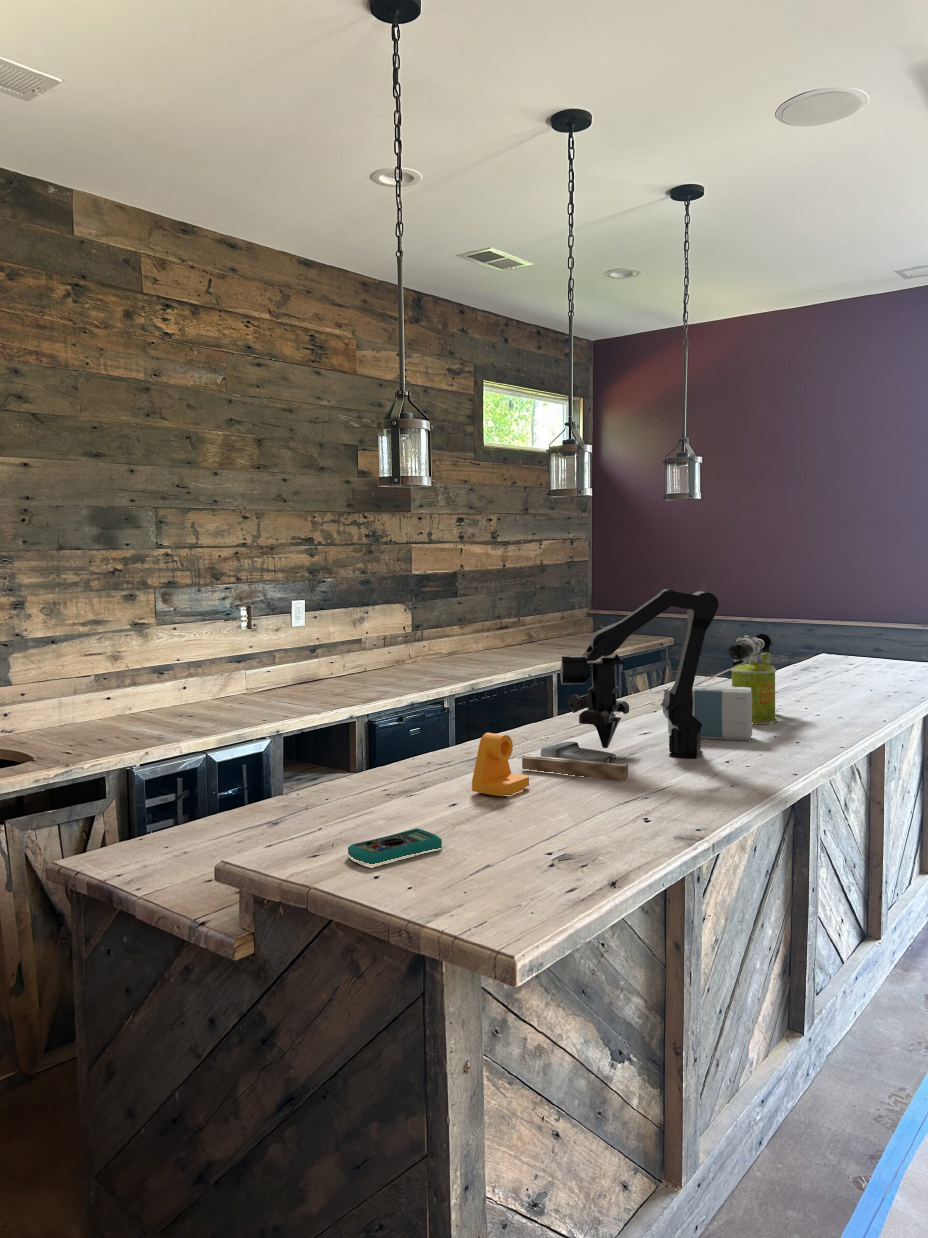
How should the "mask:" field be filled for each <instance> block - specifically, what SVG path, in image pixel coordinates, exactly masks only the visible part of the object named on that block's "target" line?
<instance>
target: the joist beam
mask: <svg viewBox="0 0 928 1238" xmlns="http://www.w3.org/2000/svg"><path fill="white" fill-rule="evenodd" d="M521 763H522V764H521V769H522V768H523V769H529V770H537V771H544V772H554V773H561V774H568V775H575V776H574V777H577V776H584V777H583V778H587V777H591V778H590V779H596V778H599V780H606V779H607V781H608V780H609V781H614V782H616V781H617V782H625V781H627V780H628V779H629V764H626V763H621V764H617V763H606V762H596V761H585V760H575V759H564V758H554V757H543V756H541V755H530V754H525V755H524V756H522V758H521Z"/></svg>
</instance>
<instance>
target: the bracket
mask: <svg viewBox="0 0 928 1238" xmlns="http://www.w3.org/2000/svg"><path fill="white" fill-rule="evenodd" d="M513 747H514V745H513V740H512V738H511V736H510V735H508V734H500V733H492V732H485V733H484V734H483V735H482V736H481V738H480V740H479V745H478V749H477V755H476V760H475V765H474V770H473V775H472V780H471V791H472V792H474V793H481V794H486V795H492V796H496V797H498V796H500V797H503V796H502V795H511V794H513V793H516V792H519V791H521V790H524V791H525V788H527V787H529V786H530V776H529V775H525V774H520V773H514V772H512V771H511V767H510V763H509V759H510V757H511V756H512V753H513V749H514V748H513Z"/></svg>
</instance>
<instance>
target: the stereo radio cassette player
mask: <svg viewBox="0 0 928 1238" xmlns="http://www.w3.org/2000/svg"><path fill="white" fill-rule="evenodd" d="M744 664H747V661H744V662H743V663H741V664H739V665H737V666H740V665H744ZM737 666H732V667H730V668H727V669H725V670H723V671H722V672H721V671H720V672H719V673H717V674H715V675H712V676H710V677H708V678H707V679H704V680H702V681H700V682H697V683H695V684H693V688H692V693H693V714H692V715H693V716H694V717H695V718H696V719H697V720H698V721H699V722H701V723H702V727H701V730H700V736H701V739H710V738H711V739H714V740H733V741H735V740H736V741H744V740H745V741H744V742H746V741H749V739H751V738H752V736H753V725H752V691H751V688H750V687H732V686H724V685H723V686H722V685H721V686H720V685H718V686H717V685H716V686H715V685H701V684H703V683H705V682H707V681H710V680H712V679H714V678H717V677H718V676H721V675H723V674H724V673H727V672H730V671H731V669H733V668H736V667H737ZM673 686H674V685H672V686H671V687H670V688H668V689H667V690H668V691H670V690H671V689H672V687H673ZM673 728H675V727H673V726H672V723H671V721H669V720H668V719H667V732H668V734H669V735H671V729H673Z"/></svg>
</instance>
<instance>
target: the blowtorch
mask: <svg viewBox="0 0 928 1238" xmlns="http://www.w3.org/2000/svg"><path fill="white" fill-rule="evenodd" d="M735 641H736V642H735V643H733V644H732V645H731V646H729V649H728V654H729V657H730V658H731V659H732V660H733V662H731V665H732V668H733V667H735V666H737V665H739V664H741V665H740V666H737V667H736V668H733V669H731V670H730V671H731V687H750V688H751V691H752V723H753V724H760V725H768V724H767V723H773V724H775V723H777V722H778V719H777V718H776V672H777V668H776V667H775V665H771V657H772V653H769V652H770V647H771V646H772V645H774V644H775V642H774V641H773V642H772V639H771V637H770V636H769V635H768V634H766V633H758V634H757V635H756V636H755V637H751V636H750V635H743V637H740V636H739V637H738V638H737V639H736V640H735ZM760 651H762V653H760ZM759 653H760V656H761V662H762V664H760V663H759V661H758V658H757V657H758V654H759ZM743 661H744V662H745V661H746V662H748V663H744V662H743ZM742 663H743V664H742Z"/></svg>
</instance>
